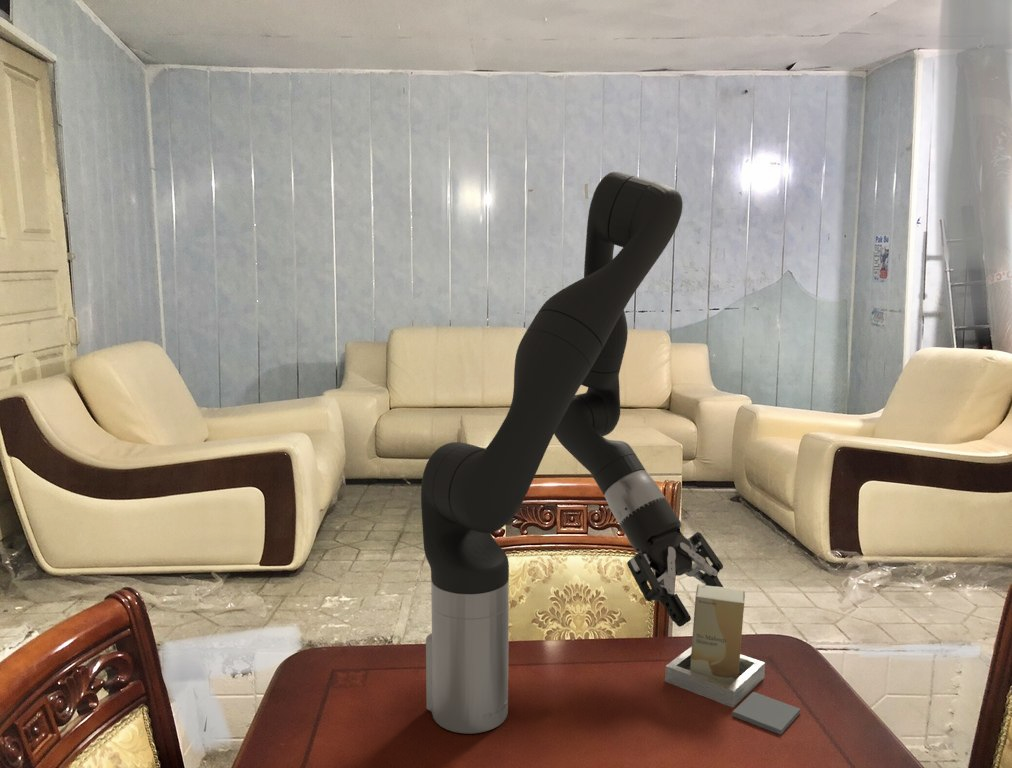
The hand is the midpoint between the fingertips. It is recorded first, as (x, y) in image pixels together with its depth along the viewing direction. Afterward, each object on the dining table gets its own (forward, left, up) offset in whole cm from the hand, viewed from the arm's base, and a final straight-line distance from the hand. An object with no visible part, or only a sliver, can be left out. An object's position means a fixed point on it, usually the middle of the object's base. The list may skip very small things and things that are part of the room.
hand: (705, 614), depth 107 cm
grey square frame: (+2, 0, -8) cm, 9 cm away
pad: (+10, -4, -8) cm, 14 cm away
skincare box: (+2, 0, -9) cm, 9 cm away
